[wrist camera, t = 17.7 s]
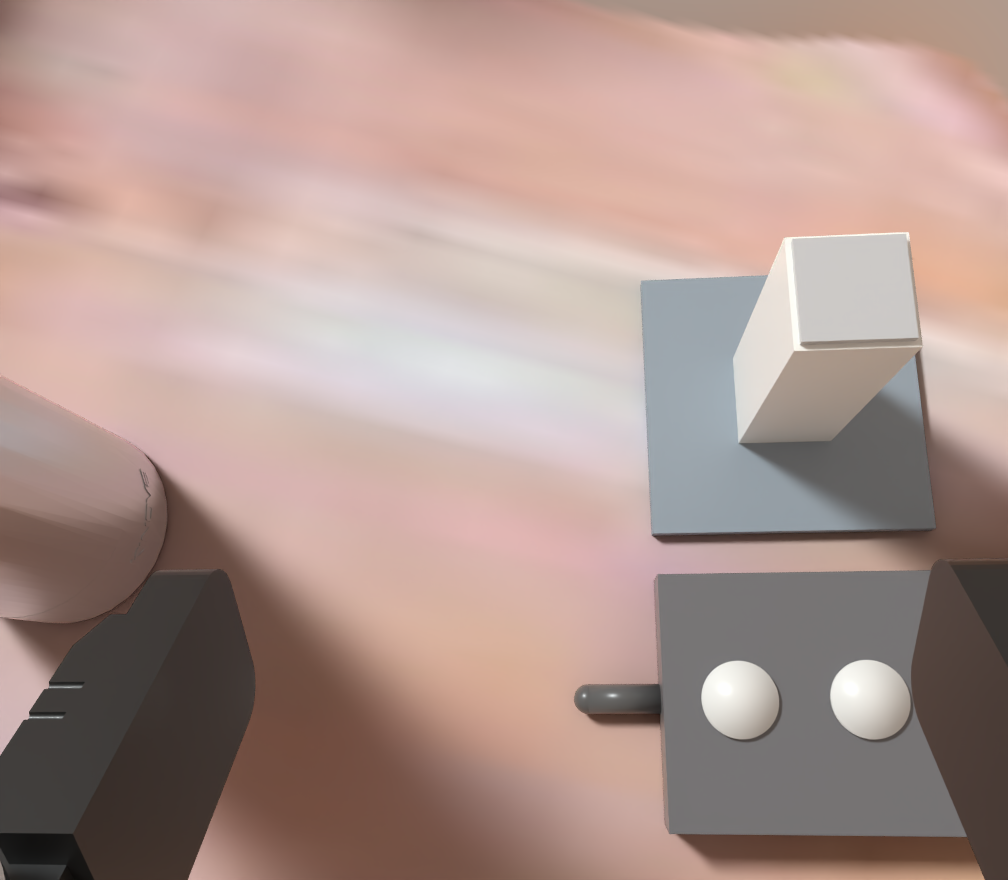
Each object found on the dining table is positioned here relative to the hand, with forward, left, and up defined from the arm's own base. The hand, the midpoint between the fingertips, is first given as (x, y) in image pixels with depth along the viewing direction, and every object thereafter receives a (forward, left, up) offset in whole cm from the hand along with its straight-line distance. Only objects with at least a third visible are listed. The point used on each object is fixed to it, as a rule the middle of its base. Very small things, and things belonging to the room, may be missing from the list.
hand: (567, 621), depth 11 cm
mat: (+9, +12, -31) cm, 34 cm away
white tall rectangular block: (+9, +12, -30) cm, 33 cm away
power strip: (+13, -1, -31) cm, 33 cm away
